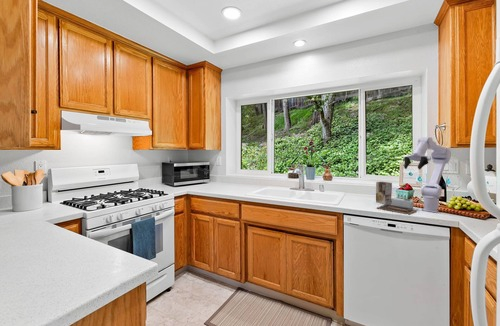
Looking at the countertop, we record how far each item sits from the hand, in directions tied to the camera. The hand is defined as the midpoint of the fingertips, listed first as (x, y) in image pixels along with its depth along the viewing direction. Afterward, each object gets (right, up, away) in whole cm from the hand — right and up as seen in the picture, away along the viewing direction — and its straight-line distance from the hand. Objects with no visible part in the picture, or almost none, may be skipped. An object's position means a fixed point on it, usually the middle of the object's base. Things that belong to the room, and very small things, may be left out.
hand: (411, 168), depth 146 cm
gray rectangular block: (+10, -29, +25) cm, 39 cm away
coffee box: (+5, -28, +40) cm, 49 cm away
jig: (+2, -29, +19) cm, 35 cm away
